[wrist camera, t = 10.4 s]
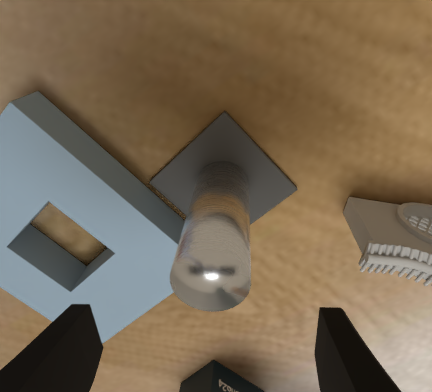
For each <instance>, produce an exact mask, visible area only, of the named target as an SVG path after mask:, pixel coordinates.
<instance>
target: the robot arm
mask: <svg viewBox="0 0 432 392" xmlns="http://www.w3.org/2000/svg"><path fill="white" fill-rule="evenodd" d="M102 351H103V345H102V342H101V339H100V335H99V332H98V329H97V326H96V322H95V319H94V316H93V313H92V309H91V306H90V304H71V305H70V306H69V307H68V308H67V309H66V310H65V311H64V312H63V313H61V314H60V315H59V316H58V317H57V318H56V319H55V320H54V321H53V322H52V323H51V324H50V325H49V326H48V327H47V328H46V329H45V330H44V331H43V332H42V333H41V334H39V335H38V336H37V337H36V338H35V339H34V340H33V341H32V342H31V343H30V344H29V345H28V346H27V347H26V348H24V349H23V350H22V351H21V352H20V353H19V354H18V355H17V356H16V357H15V358H14V359H13V360H11V361H10V362H9V363H8V364H7V365H6V366H5V367H3V368H2V369H1V370H0V392H89V391H90V389H91V386H92V384H93V381H94V378H95V375H96V372H97V368H98V365H99V361H100V358H101V354H102ZM315 360H316V367H317V374H318V380H319V387H320V391H321V392H401V390H400V389H399V388H398V387H397V385H396V384H395V383H394V382H393V380H392V379H391V378H390V376H389V375H388V374H387V372H386V371H385V370H384V368H383V367H382V366H381V365H380V363H379V362H378V361H377V359H376V358H375V356H374V355H373V354H372V352H371V351H370V350H369V348H368V347H367V345H366V344H365V342H364V341H363V339H362V338H361V337H360V335H359V334H358V332H357V331H356V329H355V328H354V326H353V325H352V323H351V321H350V320H349V318H348V317H347V315H346V313H345V312H344V310H343V309H341V308H325V307H320V310H319V318H318V327H317V336H316V345H315Z"/></svg>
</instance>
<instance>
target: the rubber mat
mask: <svg viewBox="0 0 432 392" xmlns="http://www.w3.org/2000/svg"><path fill="white" fill-rule="evenodd" d="M217 161H227V162H231V163H234V164H236V165H237V166H239V167H240V168H241V169H242V170H243V171H244V172H245V174H246V175H247V178H248V181H249V212H250V224H252V223H253V222H254V221H256V220H257V219H259V218H260V217H261V216H263V215H264V214H265V213H267V212H268V211H269V210H271V209H272V208H273V207H275V206H276V205H277V204H279V203H280V202H282V201H283V200H284V199H286V198H287V197H288V196H290V195H291V194H292V193H294V192H295V191H296V190H297V187H296V186H295V185H294V184H293V183H292V182H291V181H290V180H289V178H288V177H287V176H286V175H285V174H284V173H283V172H282V171H281V170H280V169H279V168H278V167H277V166H276V165H275V164H274V163H273V162H272V160H271V159H270V158H269V157H268V156H267V155H266V154H265V153H264V152H263V151H262V150H261V149H260V148H259V147H258V146H257V145H256V143H255V142H254V141H253V140H252V139H251V138H250V137H249V136H248V135H247V134H246V133H245V132H244V131H243V130H242V129H241V128H240V126H239V125H238V124H237V123H236V122H235V121H234V120H233V119H232V118H231V117H230V116H229V115H228V114H227V113H226V112H225V111H224V112H223V113H222V114H221V115H220V116H219V117H218V118H217V119H215V120H214V121H213V122H212V123H211V124H210V125H209V126H208V127H207V128H206V129H205V130H204V131H203V132H202V133H201V134H199V135H198V136H197V137H196V138H195V139H194V140H193V141H192V142H191V143H190V144H189V145H188V146H187V147H186V148H185V149H183V150H182V151H181V152H180V153H179V154H178V155H177V156H176V157H175V158H174V159H173V160H172V161H171V162H170V163H169V164H167V165H166V166H165V167H164V168H163V169H162V170H161V171H160V172H159V173H158V174H157V175H156V176H155V177H154V178H153V179H151V180H150V182H149V183H150V184H151V185H152V186H154V187H155V188H156V189H157V190H158V191H159V192H160V193H161V194H163V195H164V196H165V197H166V198H167V199H168V200H169V201H170V202H172V203H173V204H174V205H175V206H176V207H177V208H178V209H179V210H180V211H182V212H183V213H184V214H185V215H186V216H187V212H188V209H189V205H190V202H191V198H192V195H193V191H194V188H195V185H196V181H197V178H198V175H199V173H200V172H201V170H202V169H203V168H204V167H205V166H207V165H209V164H210V163H213V162H217Z"/></svg>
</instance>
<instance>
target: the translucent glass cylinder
mask: <svg viewBox="0 0 432 392" xmlns="http://www.w3.org/2000/svg"><path fill="white" fill-rule="evenodd" d="M170 284H171V287H172V289H173V291H174V293H175V294H176V295H177V297H178V298H179V299H180V300H181V301H183V302H184V303H186V304H187V305H189V306H191V307H193V308H196V309H199V310H203V311H223V310H227V309H230V308H233V307H235V306H236V305H238V304H239V303H241V302H242V301H243V300H244V299H245V298H246V296H247V295H248V293H249V290H250V286H251V266H250V212H249V181H248V178H247V175H246V174H245V172H244V171H243V170H242V169H241V168H240V167H239V166H237V165H236V164H234V163H231V162H227V161H217V162H213V163H210V164H209V165H207V166H205V167H204V168H203V169H202V170H201V172H200V173H199V175H198V178H197V181H196V185H195V188H194V191H193V195H192V198H191V202H190V205H189V209H188V212H187V216H186V219H185V223H184V226H183V230H182V233H181V237H180V240H179V244H178V247H177V251H176V254H175V258H174V261H173V265H172V268H171V272H170Z"/></svg>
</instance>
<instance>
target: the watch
mask: <svg viewBox="0 0 432 392" xmlns="http://www.w3.org/2000/svg"><path fill="white" fill-rule="evenodd" d="M179 392H264V391H263V390H261V389H260V388H258V387H257V386H255V385H253V384H252V383H250V382H249V381H247V380H245V379H244V378H242V377H241V376H239V375H237V374H236V373H234V372H233V371H231V370H229V369H228V368H226V367H225V366H223V365H221V364H220V363H218V362H217V361H215V360H213V361H211V362H210V363H208V364H207V365H206V366H204V367H203V368H202V369H200V370H199V371H197V372H196V373H195V374H193V375H192V376H190V377H189V378H188V379H186V380H185V381H183V382H182V383H181V385H180V391H179Z"/></svg>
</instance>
